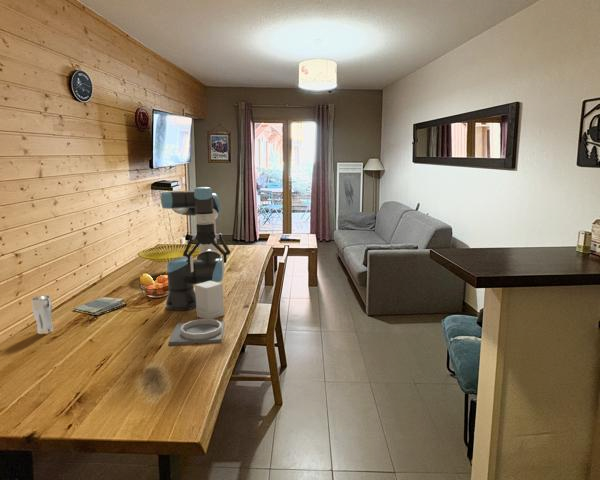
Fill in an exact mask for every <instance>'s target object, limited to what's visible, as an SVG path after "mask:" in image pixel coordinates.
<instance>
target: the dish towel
mask: <svg viewBox="0 0 600 480" xmlns="http://www.w3.org/2000/svg"><path fill="white" fill-rule="evenodd" d="M124 301H125V299H124V298H115V297H113V298H112V297H106V296H105V297H100V298H96V299H94V300H92V301H88V302H86V303H83V304H80V305H78V306H76V307H74V308H73V309H75V310H79V311H83V312H88V313H93V315H98V314H99V313H105V312H107V311H110V310H113V309H115V308H118V307H120V306H122V305H124V304H127V305H128V302H124ZM122 307H123V306H122ZM118 309H119V308H118ZM113 311H114V310H113ZM110 312H111V311H110ZM105 314H106V313H105ZM93 315H92V316H93Z"/></svg>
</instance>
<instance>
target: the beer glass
mask: <svg viewBox="0 0 600 480" xmlns="http://www.w3.org/2000/svg"><path fill="white" fill-rule="evenodd" d="M31 310H32V313H33V314H32V315H33V317H34V319H35V322H36V327H37V328H36V329H37V330H36V331H37V332H36V334H37V333H39V334H42V333H48V332H51V331H53V330H54V326H53V323H52V319H53V305H52V300H51V296H50V295H46V294H45V295H38V296H35V297H32V298H31ZM54 331H55V330H54ZM54 331H53V332H54Z"/></svg>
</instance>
